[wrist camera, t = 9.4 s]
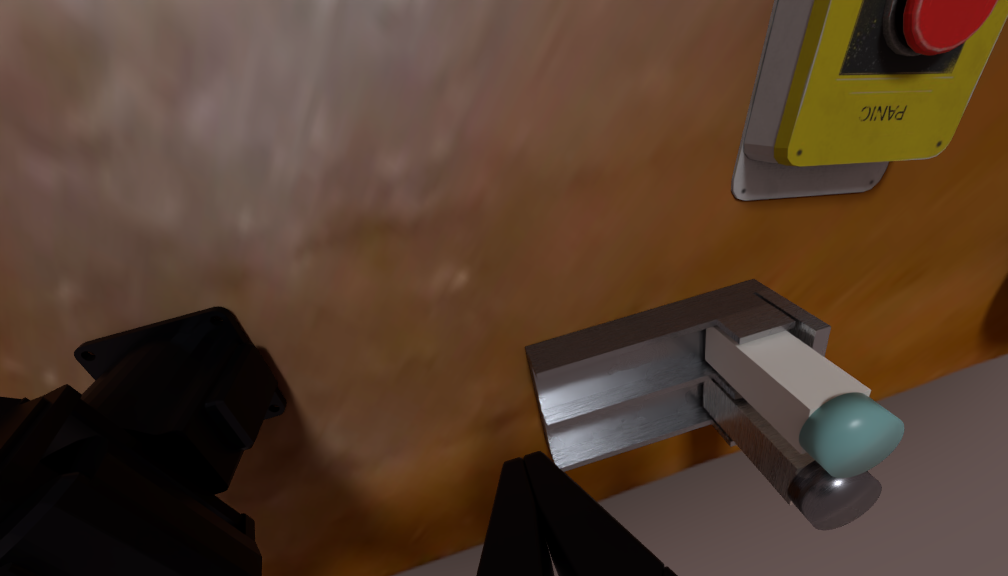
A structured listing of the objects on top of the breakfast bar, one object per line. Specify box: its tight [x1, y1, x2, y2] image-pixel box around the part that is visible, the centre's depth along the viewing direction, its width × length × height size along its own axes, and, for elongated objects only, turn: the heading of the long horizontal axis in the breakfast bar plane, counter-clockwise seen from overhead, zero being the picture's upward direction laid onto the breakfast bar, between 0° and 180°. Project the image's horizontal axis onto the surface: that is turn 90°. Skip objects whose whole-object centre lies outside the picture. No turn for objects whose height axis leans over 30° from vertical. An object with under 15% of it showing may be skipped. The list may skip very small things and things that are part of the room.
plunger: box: [705, 325, 904, 478], centre depth 21 cm, size 3×3×8 cm
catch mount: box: [525, 279, 882, 530], centre depth 22 cm, size 14×8×10 cm, turn 102°
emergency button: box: [731, 0, 1008, 201], centre depth 18 cm, size 9×4×15 cm
